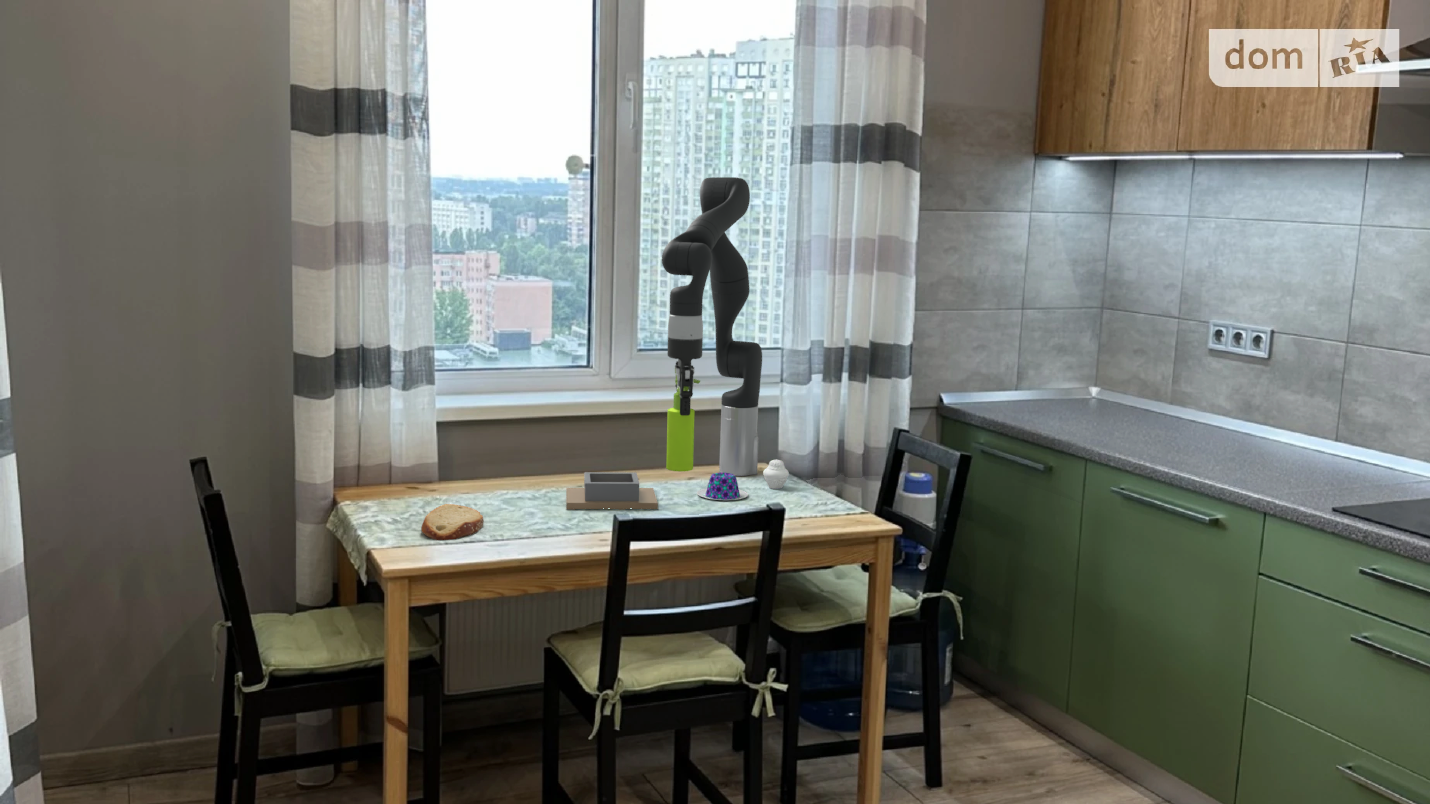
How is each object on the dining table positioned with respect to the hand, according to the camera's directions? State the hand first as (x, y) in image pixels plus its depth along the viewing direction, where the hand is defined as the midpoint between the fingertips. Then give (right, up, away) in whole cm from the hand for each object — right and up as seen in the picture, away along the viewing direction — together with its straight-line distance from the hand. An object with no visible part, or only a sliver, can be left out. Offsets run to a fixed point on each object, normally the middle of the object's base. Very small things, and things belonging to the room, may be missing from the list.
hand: (683, 412), depth 268 cm
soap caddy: (-17, -20, +10) cm, 28 cm away
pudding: (+9, -20, +19) cm, 29 cm away
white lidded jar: (+21, -19, +28) cm, 40 cm away
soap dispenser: (0, -13, +2) cm, 13 cm away
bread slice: (-48, -24, -14) cm, 55 cm away
